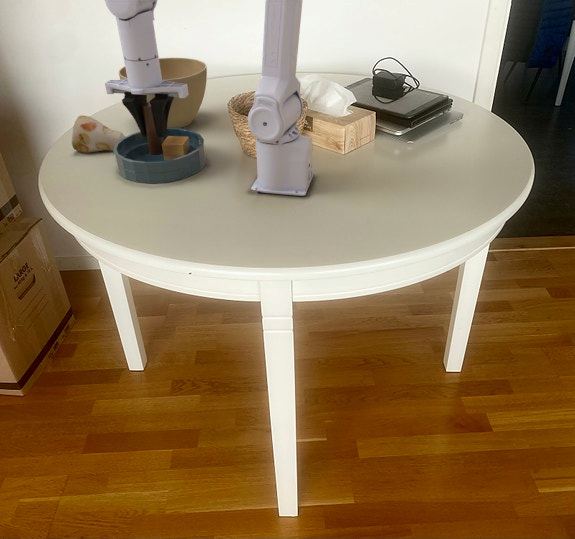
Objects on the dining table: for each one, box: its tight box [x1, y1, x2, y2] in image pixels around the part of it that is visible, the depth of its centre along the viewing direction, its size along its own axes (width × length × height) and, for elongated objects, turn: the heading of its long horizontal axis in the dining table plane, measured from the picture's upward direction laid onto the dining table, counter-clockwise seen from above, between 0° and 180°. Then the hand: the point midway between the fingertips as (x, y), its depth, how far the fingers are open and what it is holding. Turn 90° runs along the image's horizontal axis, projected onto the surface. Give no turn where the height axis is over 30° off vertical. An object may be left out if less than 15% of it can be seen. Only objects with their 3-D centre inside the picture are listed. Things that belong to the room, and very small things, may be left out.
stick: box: [141, 102, 163, 155], centre depth 96 cm, size 3×3×9 cm
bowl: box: [112, 128, 207, 184], centre depth 98 cm, size 16×16×4 cm
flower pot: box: [118, 57, 208, 129], centre depth 114 cm, size 18×18×12 cm
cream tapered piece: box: [71, 115, 126, 154], centre depth 104 cm, size 8×10×10 cm
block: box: [162, 136, 191, 160], centre depth 99 cm, size 4×4×4 cm
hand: (154, 134), depth 97 cm, fingers closed on stick, 3 cm apart
